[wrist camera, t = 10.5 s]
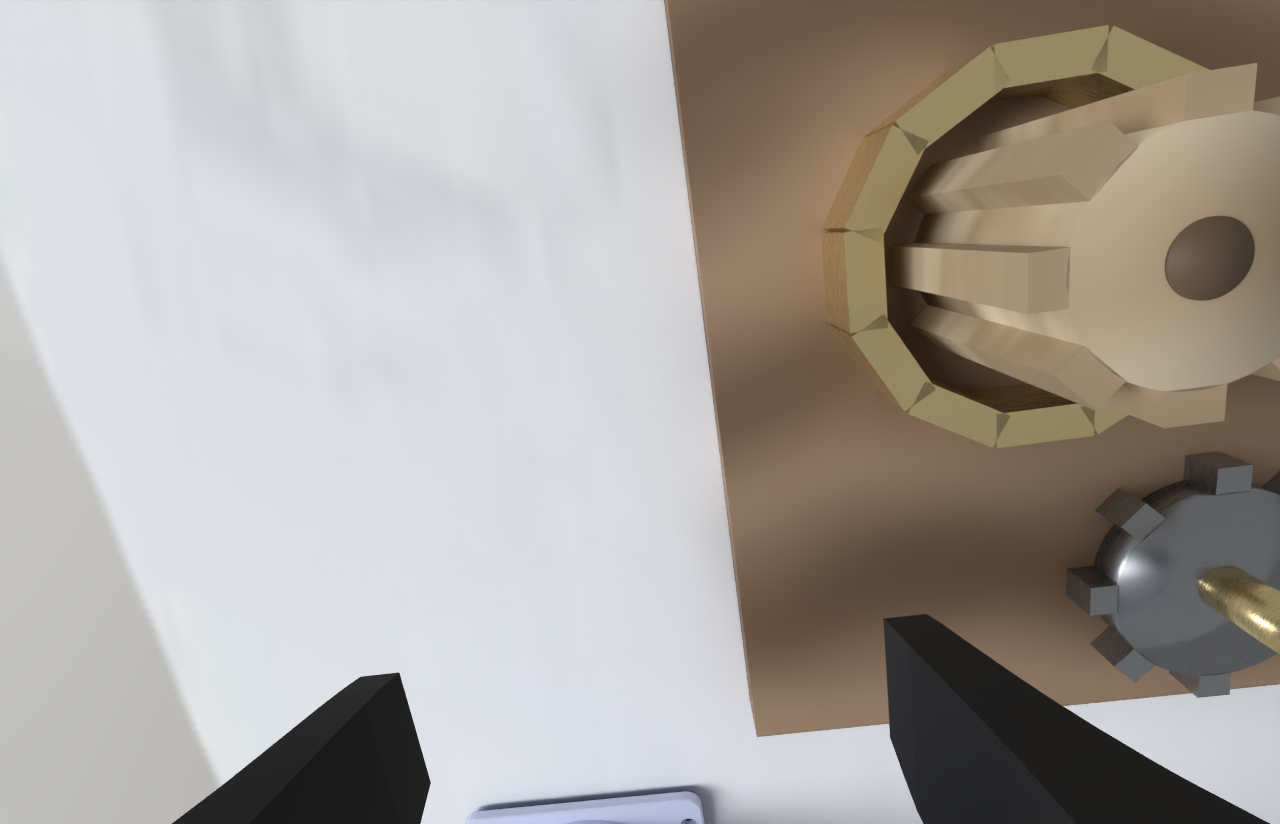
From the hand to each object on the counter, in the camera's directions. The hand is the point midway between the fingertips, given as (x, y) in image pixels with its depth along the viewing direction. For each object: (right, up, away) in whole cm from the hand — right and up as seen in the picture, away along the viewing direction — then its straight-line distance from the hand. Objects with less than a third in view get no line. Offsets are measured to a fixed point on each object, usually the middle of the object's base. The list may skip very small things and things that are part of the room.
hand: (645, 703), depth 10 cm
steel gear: (+15, 0, +8) cm, 17 cm away
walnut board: (+10, +6, +8) cm, 14 cm away
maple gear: (+8, +8, +6) cm, 13 cm away
